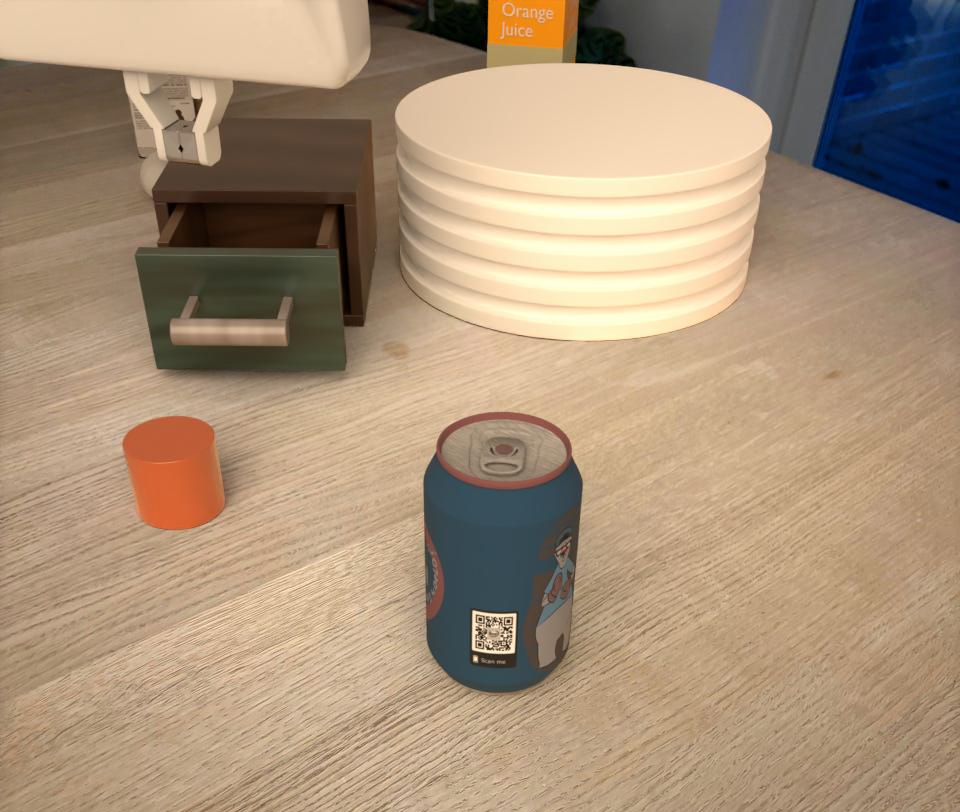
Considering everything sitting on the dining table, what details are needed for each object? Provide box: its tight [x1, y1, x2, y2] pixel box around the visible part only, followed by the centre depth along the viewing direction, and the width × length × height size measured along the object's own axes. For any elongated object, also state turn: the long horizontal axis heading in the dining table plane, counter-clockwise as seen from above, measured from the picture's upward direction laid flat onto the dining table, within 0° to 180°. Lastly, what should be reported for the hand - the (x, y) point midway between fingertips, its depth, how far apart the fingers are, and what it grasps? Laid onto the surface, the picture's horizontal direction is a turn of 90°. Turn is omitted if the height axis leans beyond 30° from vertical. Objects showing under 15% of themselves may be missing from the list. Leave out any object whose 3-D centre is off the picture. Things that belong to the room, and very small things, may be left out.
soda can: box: [422, 411, 584, 696], centre depth 51 cm, size 7×7×12 cm
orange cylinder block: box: [121, 415, 226, 531], centre depth 63 cm, size 5×5×4 cm
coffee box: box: [127, 75, 203, 148], centre depth 108 cm, size 9×6×16 cm
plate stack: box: [394, 62, 773, 342], centre depth 88 cm, size 28×28×12 cm
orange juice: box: [486, 0, 580, 68], centre depth 112 cm, size 8×9×20 cm
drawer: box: [134, 203, 349, 372], centre depth 76 cm, size 20×13×8 cm, turn 0°
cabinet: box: [152, 117, 378, 327], centre depth 85 cm, size 16×14×10 cm
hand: (190, 160), depth 61 cm, fingers closed
